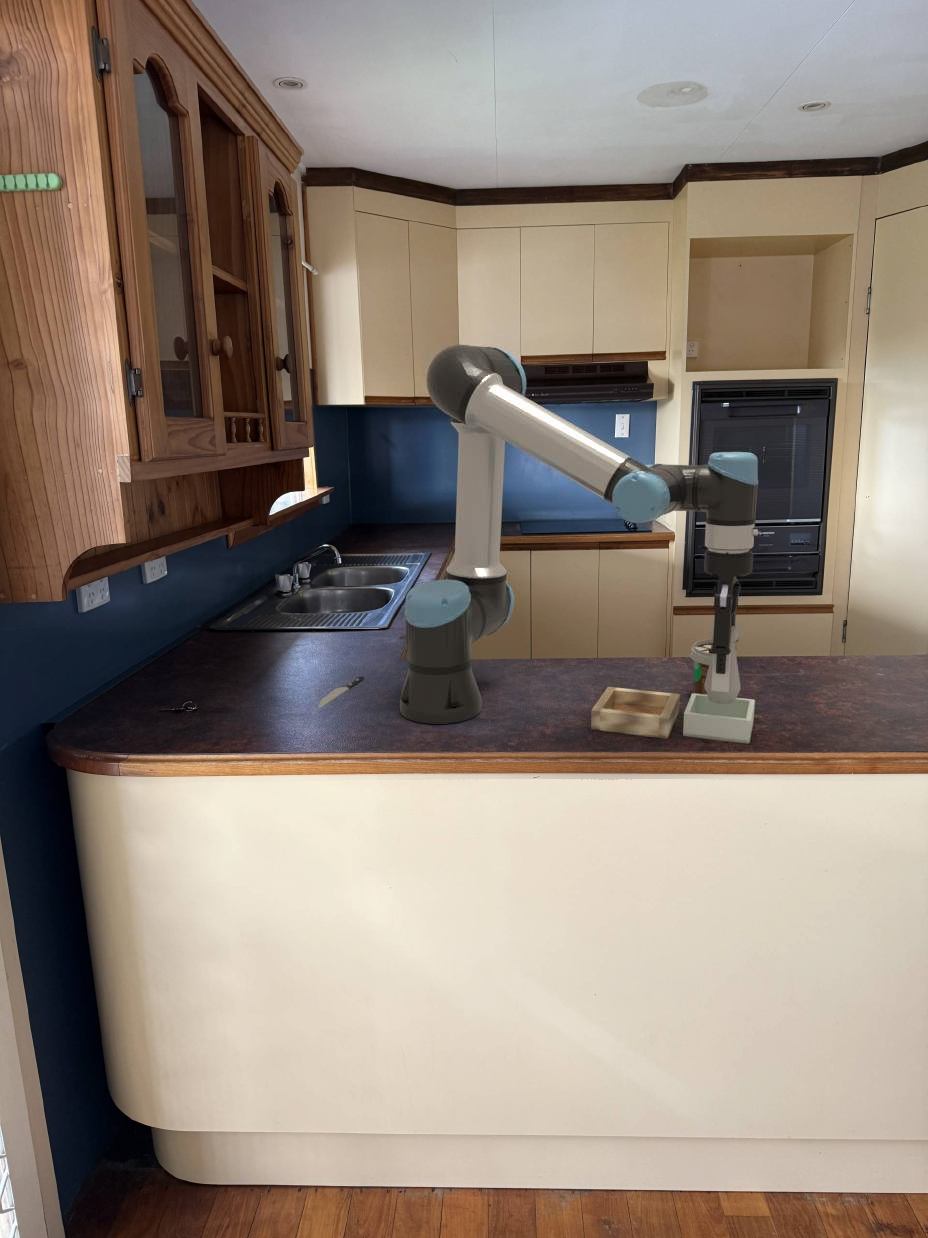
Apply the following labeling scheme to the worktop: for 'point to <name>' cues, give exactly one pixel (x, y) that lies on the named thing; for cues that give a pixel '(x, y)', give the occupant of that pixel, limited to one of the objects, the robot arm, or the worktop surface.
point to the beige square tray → (635, 721)
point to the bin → (719, 719)
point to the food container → (702, 663)
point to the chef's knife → (339, 692)
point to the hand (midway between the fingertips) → (721, 684)
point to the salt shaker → (733, 679)
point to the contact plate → (637, 709)
